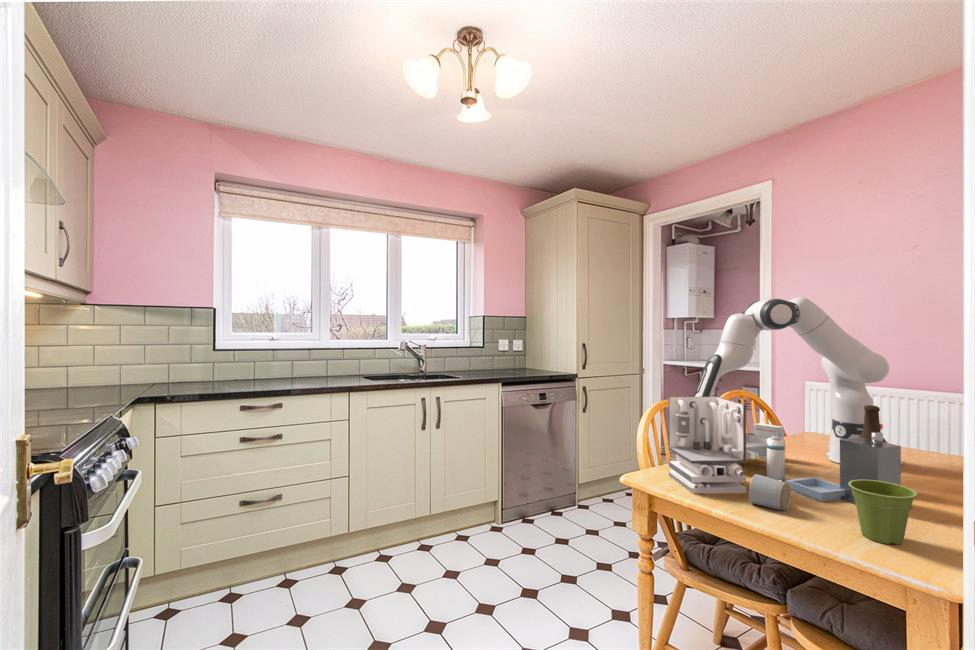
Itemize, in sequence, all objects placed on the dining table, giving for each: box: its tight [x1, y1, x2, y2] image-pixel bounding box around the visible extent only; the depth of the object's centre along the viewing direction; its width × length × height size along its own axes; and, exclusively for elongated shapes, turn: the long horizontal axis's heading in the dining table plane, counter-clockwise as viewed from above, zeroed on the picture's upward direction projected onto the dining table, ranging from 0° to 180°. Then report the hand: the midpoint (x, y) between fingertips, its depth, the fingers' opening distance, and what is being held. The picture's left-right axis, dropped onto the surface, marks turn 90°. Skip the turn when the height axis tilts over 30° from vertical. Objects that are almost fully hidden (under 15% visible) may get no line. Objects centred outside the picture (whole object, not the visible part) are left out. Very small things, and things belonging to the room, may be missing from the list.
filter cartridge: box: [766, 436, 786, 481], centre depth 149 cm, size 5×5×13 cm
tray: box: [785, 476, 845, 503], centre depth 136 cm, size 11×11×2 cm
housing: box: [839, 432, 912, 510], centre depth 129 cm, size 11×13×19 cm
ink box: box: [753, 422, 785, 460], centre depth 172 cm, size 9×5×12 cm, turn 42°
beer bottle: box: [858, 404, 888, 443], centre depth 140 cm, size 8×8×24 cm
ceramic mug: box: [748, 473, 792, 511], centre depth 127 cm, size 11×8×8 cm
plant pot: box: [848, 480, 918, 545], centre depth 107 cm, size 12×12×11 cm
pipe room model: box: [668, 396, 747, 494], centre depth 142 cm, size 16×19×25 cm
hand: (768, 454), depth 152 cm, fingers open, 8 cm apart
